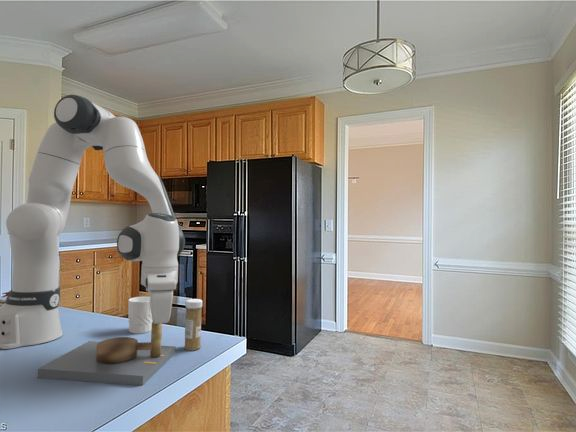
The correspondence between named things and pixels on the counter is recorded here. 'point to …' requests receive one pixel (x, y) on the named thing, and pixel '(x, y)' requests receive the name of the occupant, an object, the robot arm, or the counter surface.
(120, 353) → the dial
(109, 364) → the stand
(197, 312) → the sprinkles bottle
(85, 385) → the counter surface
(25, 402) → the counter surface
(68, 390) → the counter surface
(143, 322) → the white cup
